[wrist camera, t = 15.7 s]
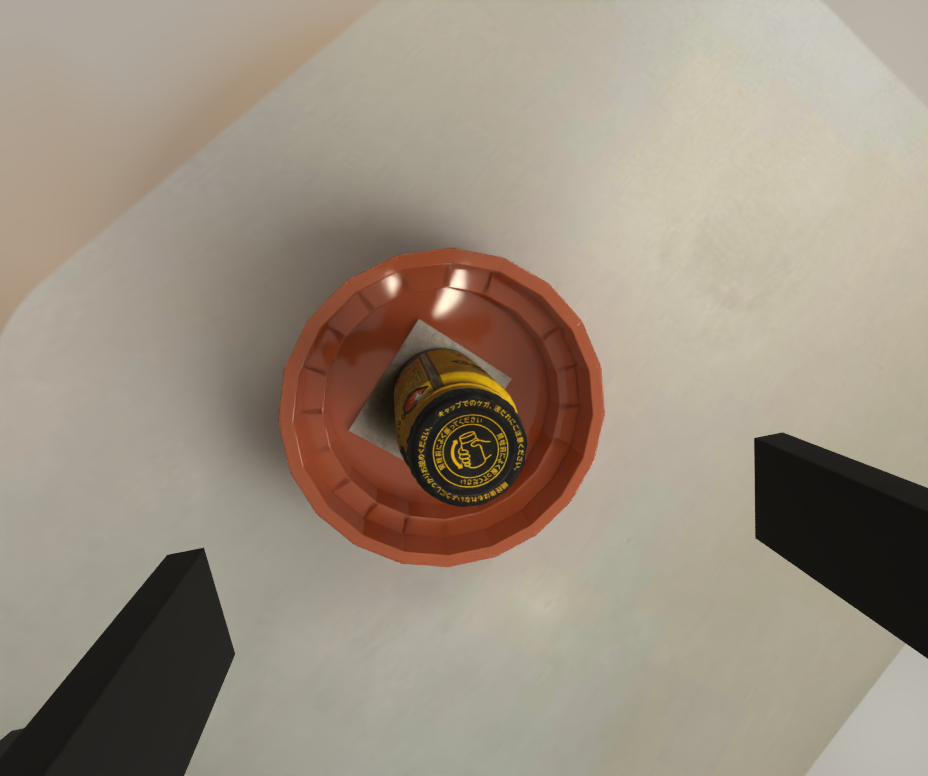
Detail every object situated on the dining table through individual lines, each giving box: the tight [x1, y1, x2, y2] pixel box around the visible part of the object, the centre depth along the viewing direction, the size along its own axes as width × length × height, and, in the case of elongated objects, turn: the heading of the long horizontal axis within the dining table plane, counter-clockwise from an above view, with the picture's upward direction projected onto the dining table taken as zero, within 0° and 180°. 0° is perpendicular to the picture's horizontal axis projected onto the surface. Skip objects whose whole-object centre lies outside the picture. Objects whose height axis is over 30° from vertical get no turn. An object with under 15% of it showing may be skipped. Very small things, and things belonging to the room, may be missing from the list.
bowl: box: [278, 248, 605, 567], centre depth 31 cm, size 19×19×5 cm
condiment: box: [348, 319, 528, 507], centre depth 27 cm, size 7×8×12 cm
